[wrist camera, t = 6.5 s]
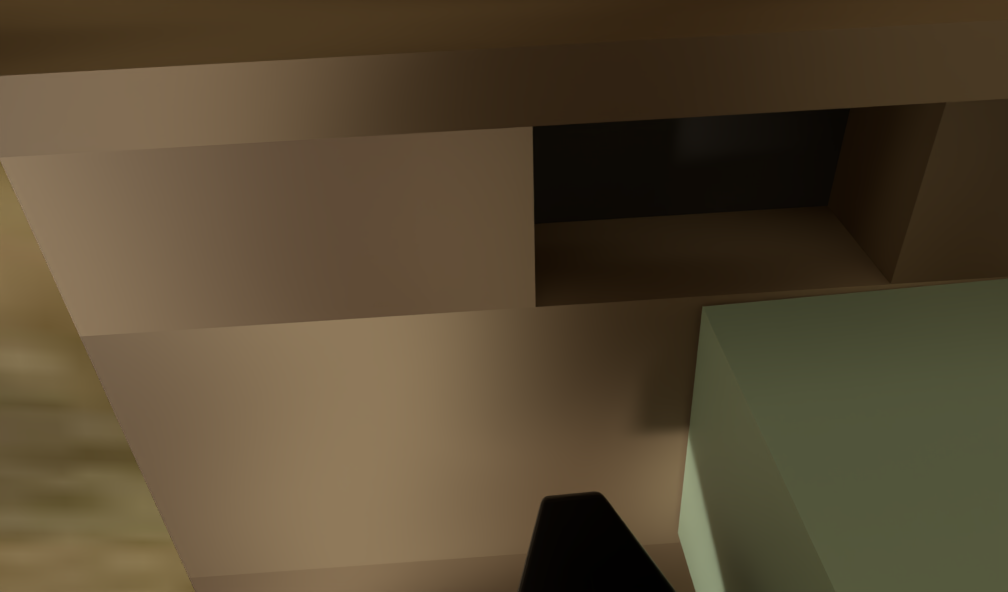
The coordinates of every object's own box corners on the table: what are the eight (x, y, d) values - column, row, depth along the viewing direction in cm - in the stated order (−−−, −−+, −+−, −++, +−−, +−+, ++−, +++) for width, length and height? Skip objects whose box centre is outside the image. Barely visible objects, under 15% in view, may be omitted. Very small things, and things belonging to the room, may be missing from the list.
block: (677, 532, 11) (777, 863, 8) (702, 305, 9) (857, 642, 6) (956, 505, 11) (1168, 821, 8) (1053, 273, 9) (1411, 586, 6)
